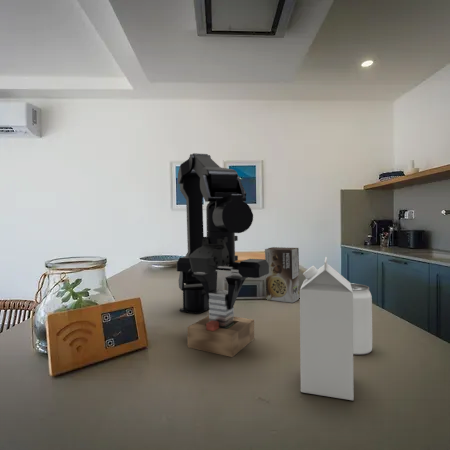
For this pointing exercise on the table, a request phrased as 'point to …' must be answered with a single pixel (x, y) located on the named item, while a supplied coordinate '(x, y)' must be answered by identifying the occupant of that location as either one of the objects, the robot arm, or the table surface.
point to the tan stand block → (220, 336)
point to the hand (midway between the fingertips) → (221, 307)
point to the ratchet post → (220, 309)
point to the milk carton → (326, 333)
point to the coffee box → (282, 274)
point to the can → (362, 319)
